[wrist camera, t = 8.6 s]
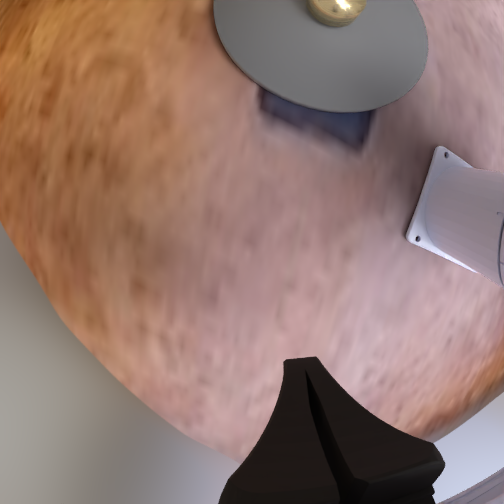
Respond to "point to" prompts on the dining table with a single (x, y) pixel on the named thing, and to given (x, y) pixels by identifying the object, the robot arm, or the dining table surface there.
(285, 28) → the dial plate
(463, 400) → the dining table surface
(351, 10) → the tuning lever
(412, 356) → the dining table surface
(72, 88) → the dining table surface
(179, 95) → the dining table surface
